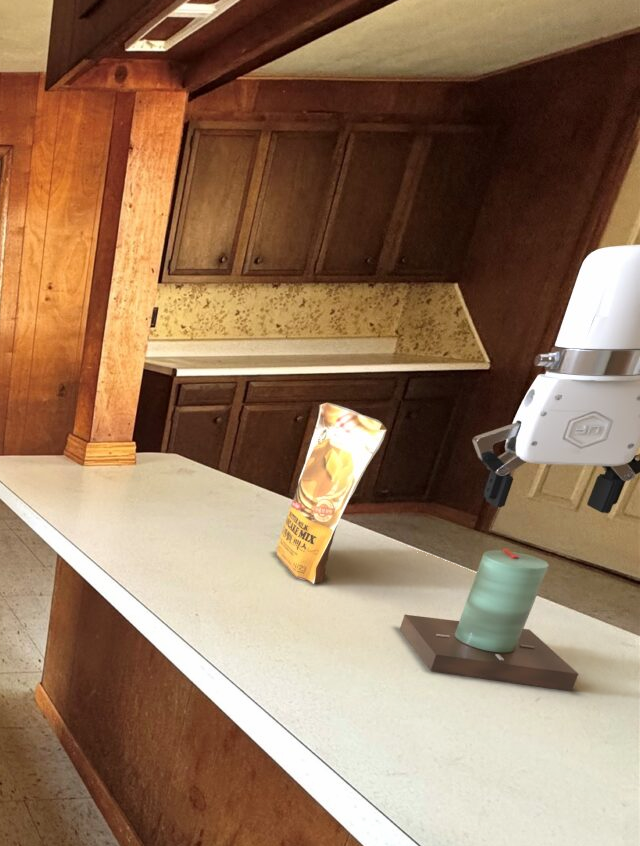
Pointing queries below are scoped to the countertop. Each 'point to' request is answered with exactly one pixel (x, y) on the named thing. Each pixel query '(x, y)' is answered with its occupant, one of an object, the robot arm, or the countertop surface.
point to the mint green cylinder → (500, 600)
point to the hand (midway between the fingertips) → (544, 506)
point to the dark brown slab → (487, 656)
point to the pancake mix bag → (326, 487)
